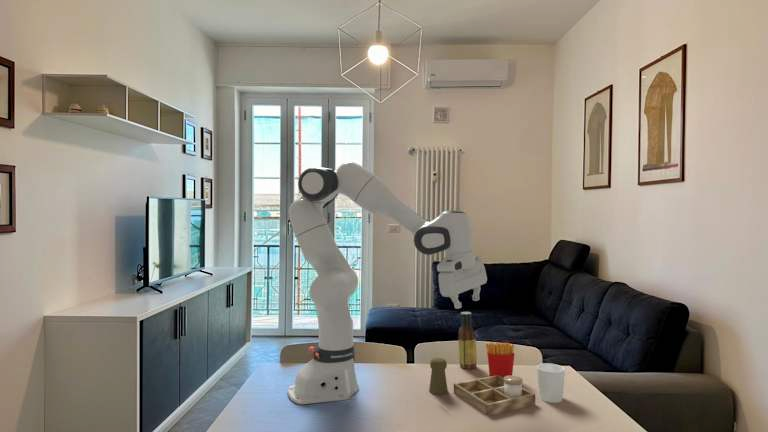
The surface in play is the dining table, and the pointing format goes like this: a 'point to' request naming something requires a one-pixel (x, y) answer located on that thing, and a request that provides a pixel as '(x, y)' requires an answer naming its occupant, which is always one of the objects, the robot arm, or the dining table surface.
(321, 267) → the robot arm
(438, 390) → the olive pepper mill
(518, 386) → the cream ceramic jar
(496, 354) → the french fries
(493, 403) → the oak caddy
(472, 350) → the sauce bottle
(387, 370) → the dining table surface
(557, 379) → the white cup
